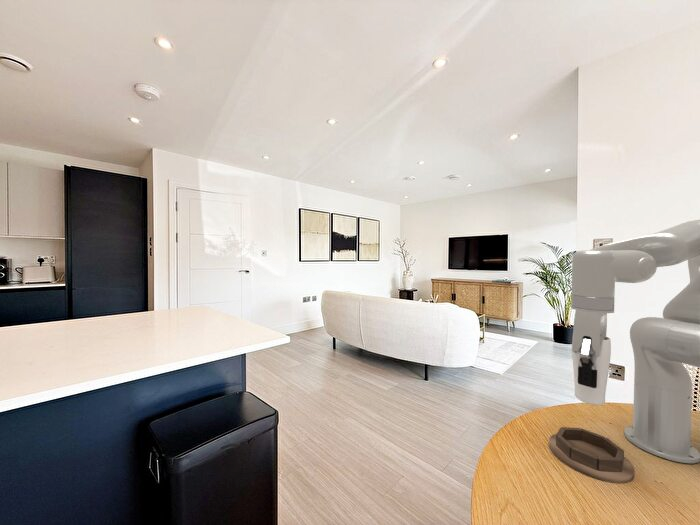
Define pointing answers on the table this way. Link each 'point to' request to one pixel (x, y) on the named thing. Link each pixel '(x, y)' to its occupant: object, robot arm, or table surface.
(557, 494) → the table surface
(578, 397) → the drinking glass
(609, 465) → the glass holder
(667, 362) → the robot arm
